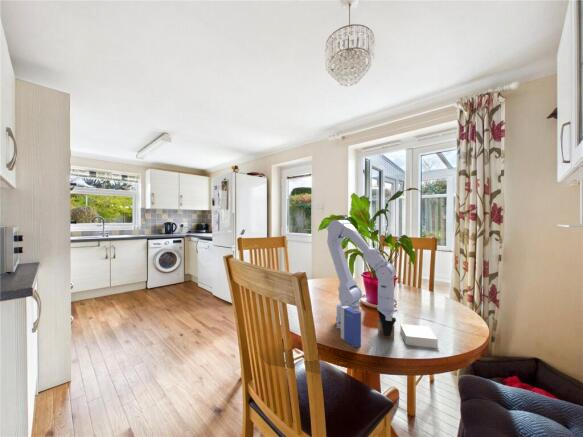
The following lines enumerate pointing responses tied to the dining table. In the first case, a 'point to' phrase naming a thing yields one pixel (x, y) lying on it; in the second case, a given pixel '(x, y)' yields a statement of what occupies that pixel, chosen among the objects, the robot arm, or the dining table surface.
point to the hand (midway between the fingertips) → (385, 332)
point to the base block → (418, 336)
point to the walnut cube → (381, 334)
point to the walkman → (351, 326)
